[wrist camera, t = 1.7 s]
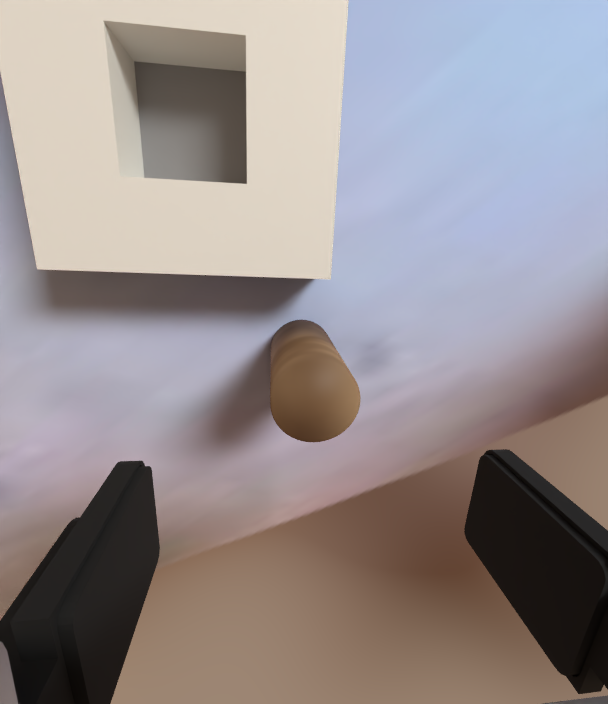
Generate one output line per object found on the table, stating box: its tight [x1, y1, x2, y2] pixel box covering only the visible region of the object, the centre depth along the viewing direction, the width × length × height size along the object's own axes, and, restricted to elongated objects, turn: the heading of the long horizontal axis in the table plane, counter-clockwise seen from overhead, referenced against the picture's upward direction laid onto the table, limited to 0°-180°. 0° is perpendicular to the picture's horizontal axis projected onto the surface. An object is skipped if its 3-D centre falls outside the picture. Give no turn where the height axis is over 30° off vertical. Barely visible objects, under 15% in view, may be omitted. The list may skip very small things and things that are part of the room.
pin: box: [270, 320, 360, 442], centre depth 19 cm, size 4×4×8 cm
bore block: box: [0, 0, 348, 279], centre depth 17 cm, size 14×14×4 cm
